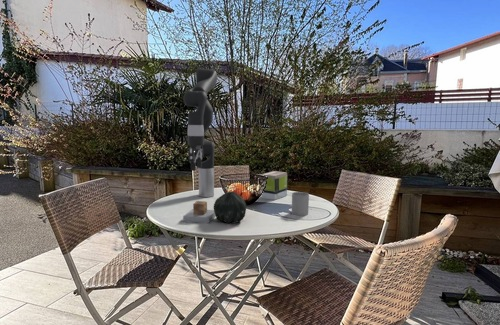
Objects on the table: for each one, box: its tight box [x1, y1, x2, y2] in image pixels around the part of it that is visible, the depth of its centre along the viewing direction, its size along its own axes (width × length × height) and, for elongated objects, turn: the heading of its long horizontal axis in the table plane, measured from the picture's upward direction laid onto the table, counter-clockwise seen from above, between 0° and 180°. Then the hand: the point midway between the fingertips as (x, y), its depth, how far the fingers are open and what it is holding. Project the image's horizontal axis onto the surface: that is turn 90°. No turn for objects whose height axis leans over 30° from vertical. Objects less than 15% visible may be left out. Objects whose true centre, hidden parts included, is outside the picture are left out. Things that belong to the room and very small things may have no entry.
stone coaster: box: [183, 208, 216, 224], centre depth 147 cm, size 12×12×2 cm
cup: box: [291, 191, 310, 217], centre depth 156 cm, size 8×8×10 cm
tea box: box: [260, 170, 288, 201], centre depth 190 cm, size 15×10×15 cm
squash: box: [213, 191, 247, 224], centre depth 143 cm, size 14×15×15 cm
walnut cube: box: [192, 200, 208, 215], centre depth 146 cm, size 5×5×5 cm
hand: (196, 168), depth 148 cm, fingers open, 8 cm apart
